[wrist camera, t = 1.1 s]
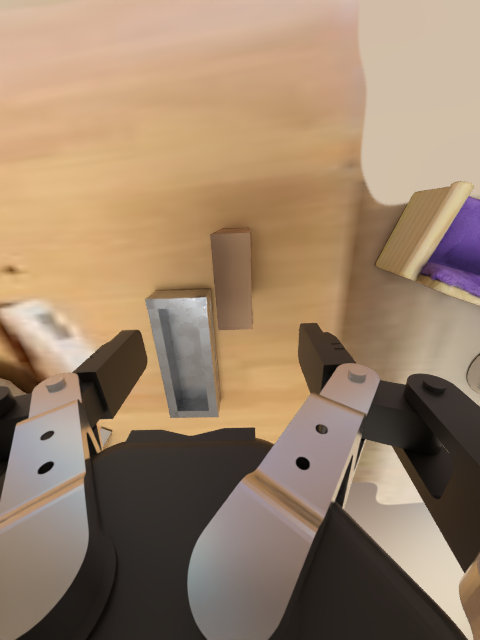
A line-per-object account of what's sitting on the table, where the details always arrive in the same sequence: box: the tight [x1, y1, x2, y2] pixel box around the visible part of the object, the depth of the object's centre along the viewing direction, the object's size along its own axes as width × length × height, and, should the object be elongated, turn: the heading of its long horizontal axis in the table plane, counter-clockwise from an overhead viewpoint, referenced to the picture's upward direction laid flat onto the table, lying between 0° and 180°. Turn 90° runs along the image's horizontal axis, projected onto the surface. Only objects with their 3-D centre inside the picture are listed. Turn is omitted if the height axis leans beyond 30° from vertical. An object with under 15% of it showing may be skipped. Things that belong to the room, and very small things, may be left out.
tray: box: [145, 289, 221, 418], centre depth 32 cm, size 7×18×4 cm, turn 2°
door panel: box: [210, 228, 253, 330], centre depth 24 cm, size 3×8×10 cm, turn 3°
